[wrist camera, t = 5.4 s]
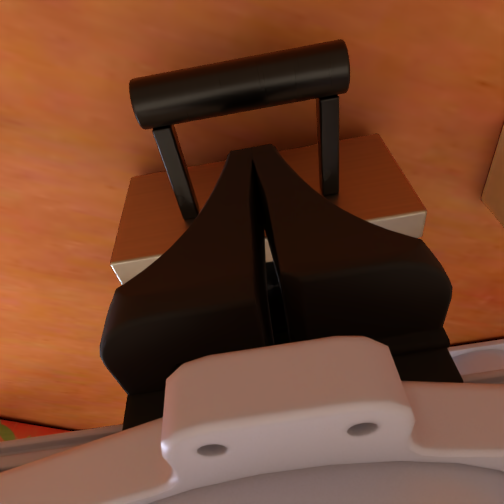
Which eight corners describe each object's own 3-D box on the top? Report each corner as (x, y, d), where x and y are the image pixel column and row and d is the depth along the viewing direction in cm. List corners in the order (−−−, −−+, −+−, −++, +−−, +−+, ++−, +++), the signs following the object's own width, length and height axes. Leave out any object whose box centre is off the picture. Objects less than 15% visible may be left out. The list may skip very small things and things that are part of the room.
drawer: (78, 55, 14) (29, 127, 10) (388, -5, 13) (460, 47, 9) (200, 337, 26) (198, 419, 22) (365, 312, 25) (392, 390, 21)
